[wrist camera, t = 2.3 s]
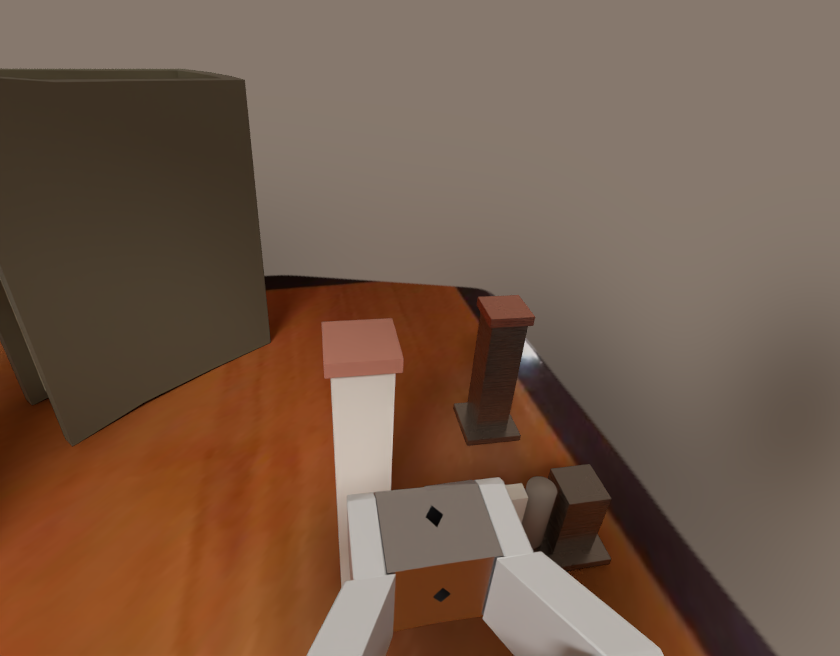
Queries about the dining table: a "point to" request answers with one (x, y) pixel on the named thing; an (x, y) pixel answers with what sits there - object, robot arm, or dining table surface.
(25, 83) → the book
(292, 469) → the dining table surface
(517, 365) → the post
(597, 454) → the dining table surface
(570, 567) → the hinge post
